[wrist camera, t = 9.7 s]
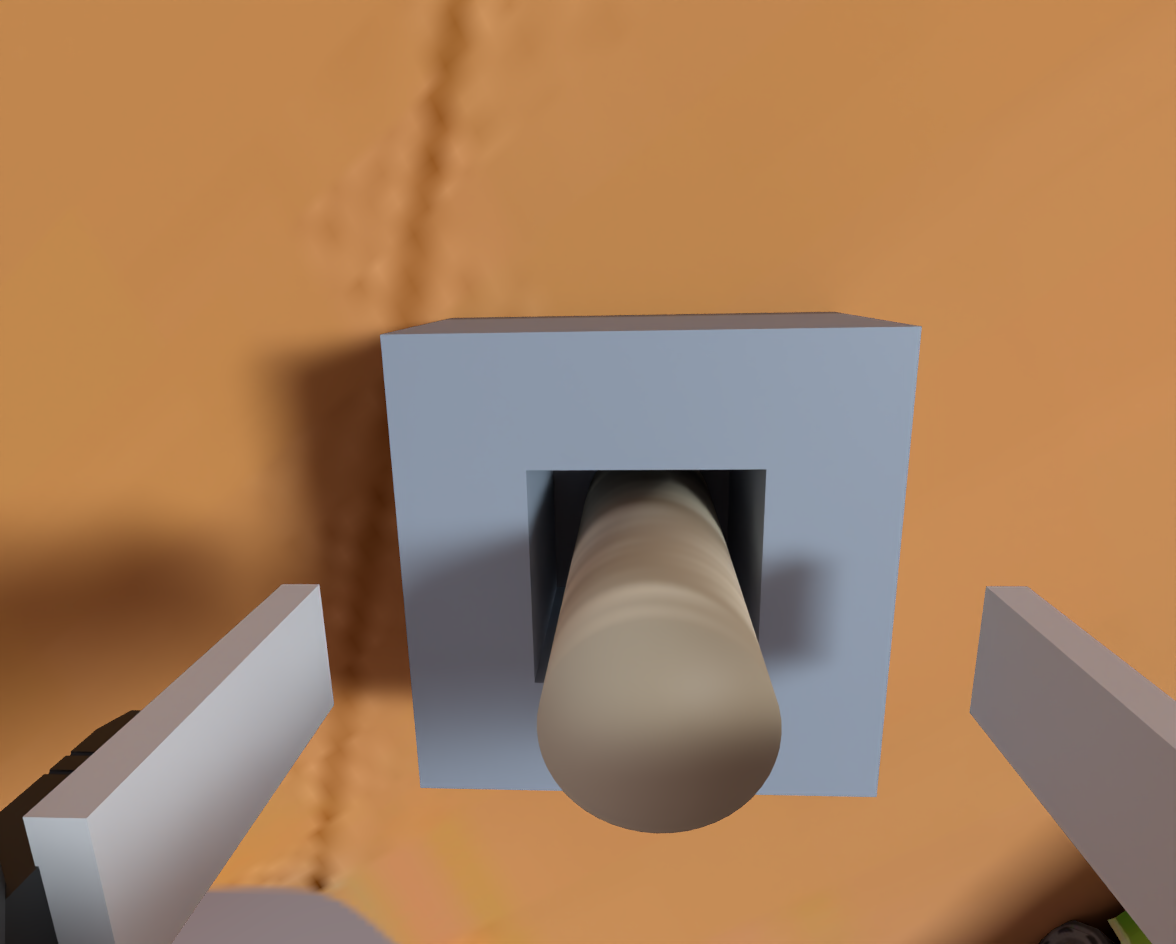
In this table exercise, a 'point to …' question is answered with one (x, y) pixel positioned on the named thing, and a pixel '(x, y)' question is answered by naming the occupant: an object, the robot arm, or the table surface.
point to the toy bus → (1097, 933)
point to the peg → (656, 663)
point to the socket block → (649, 442)
